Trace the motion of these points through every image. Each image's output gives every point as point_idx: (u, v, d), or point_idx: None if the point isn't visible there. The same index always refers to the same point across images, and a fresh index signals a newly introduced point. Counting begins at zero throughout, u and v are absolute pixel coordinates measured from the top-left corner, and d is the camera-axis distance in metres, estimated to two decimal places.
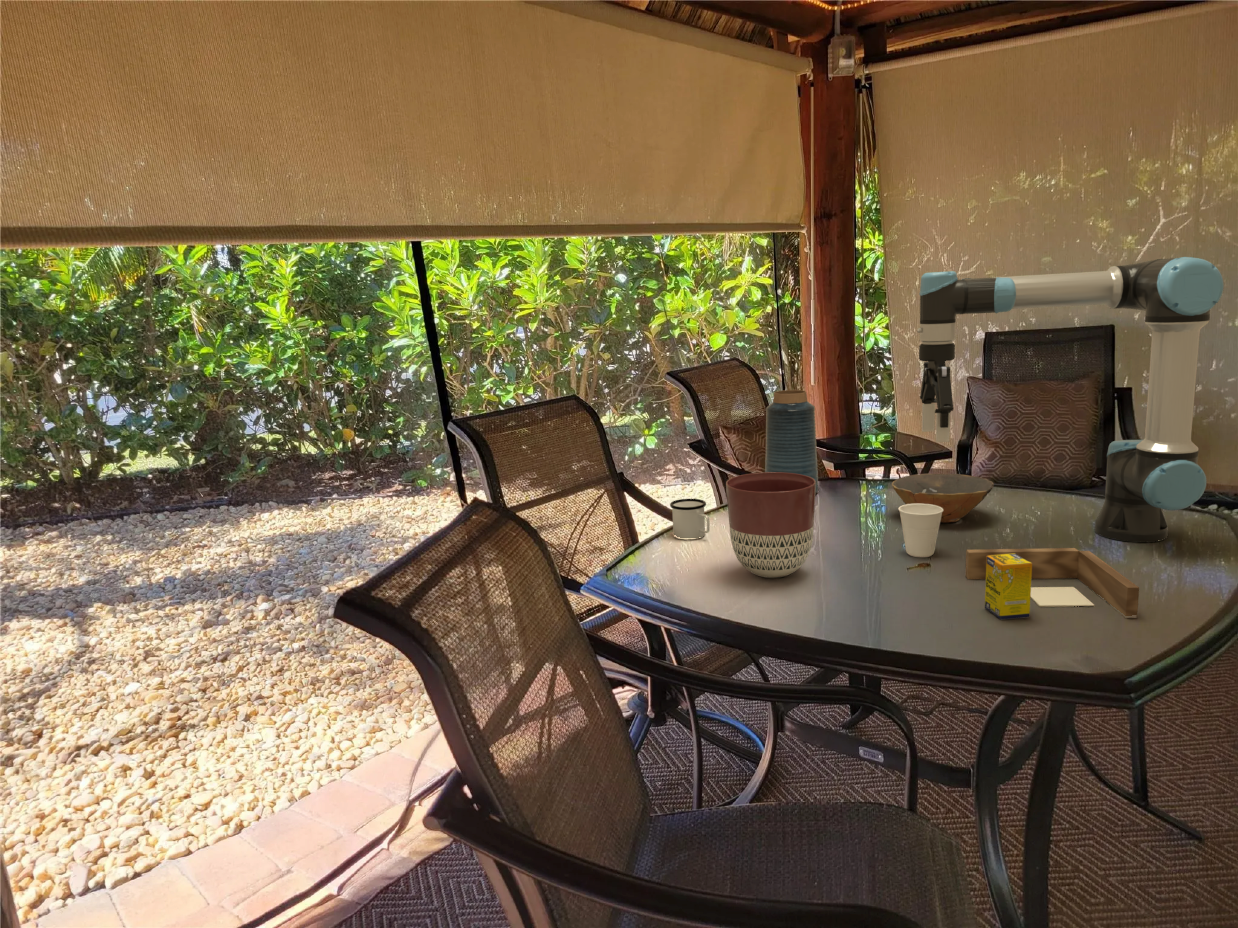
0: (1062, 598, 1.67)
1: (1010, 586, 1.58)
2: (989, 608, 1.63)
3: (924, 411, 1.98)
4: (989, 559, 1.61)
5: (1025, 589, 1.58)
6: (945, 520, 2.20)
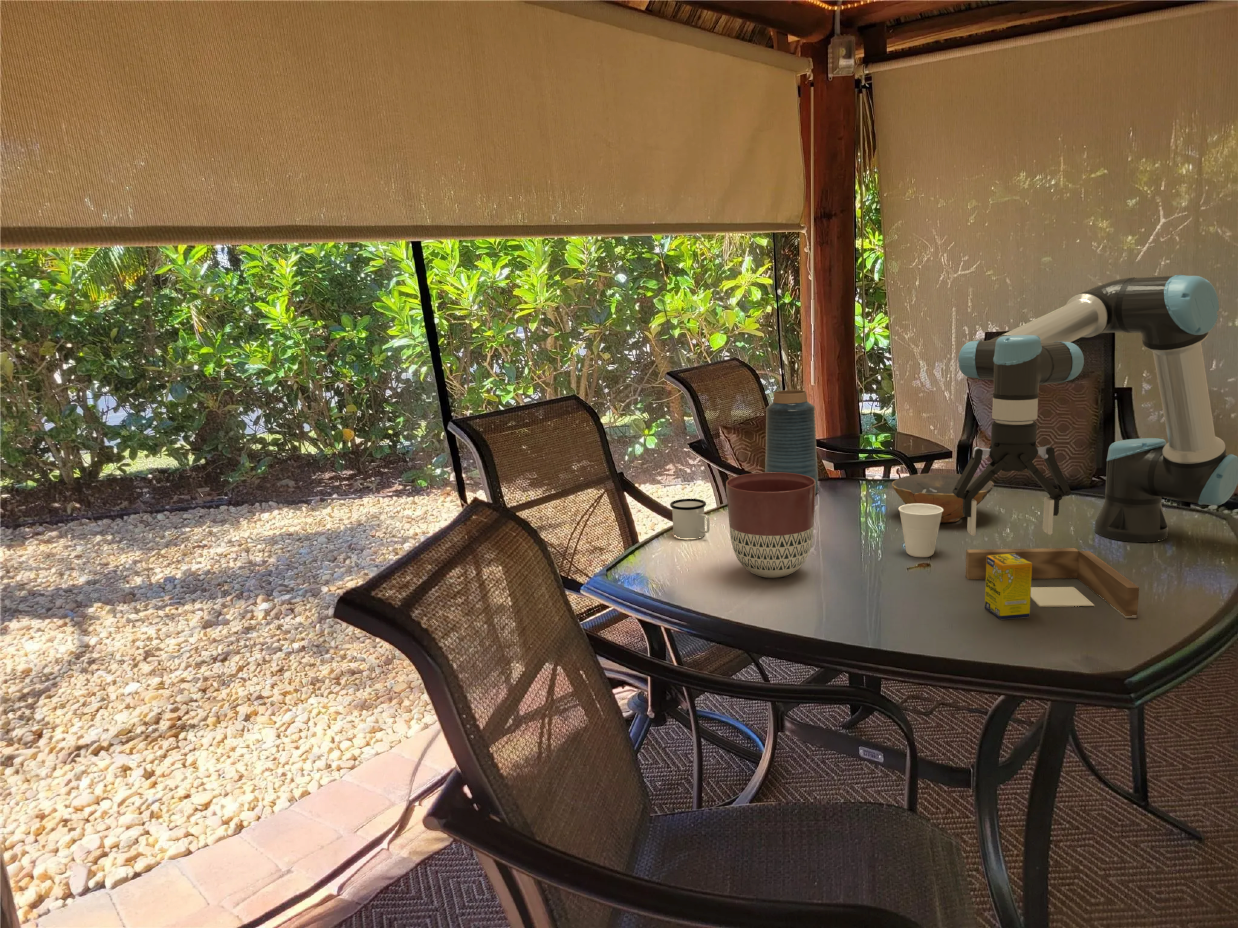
0: (1062, 598, 1.67)
1: (1010, 586, 1.58)
2: (989, 608, 1.63)
3: (1044, 506, 1.58)
4: (989, 559, 1.61)
5: (1025, 589, 1.58)
6: (945, 520, 2.20)
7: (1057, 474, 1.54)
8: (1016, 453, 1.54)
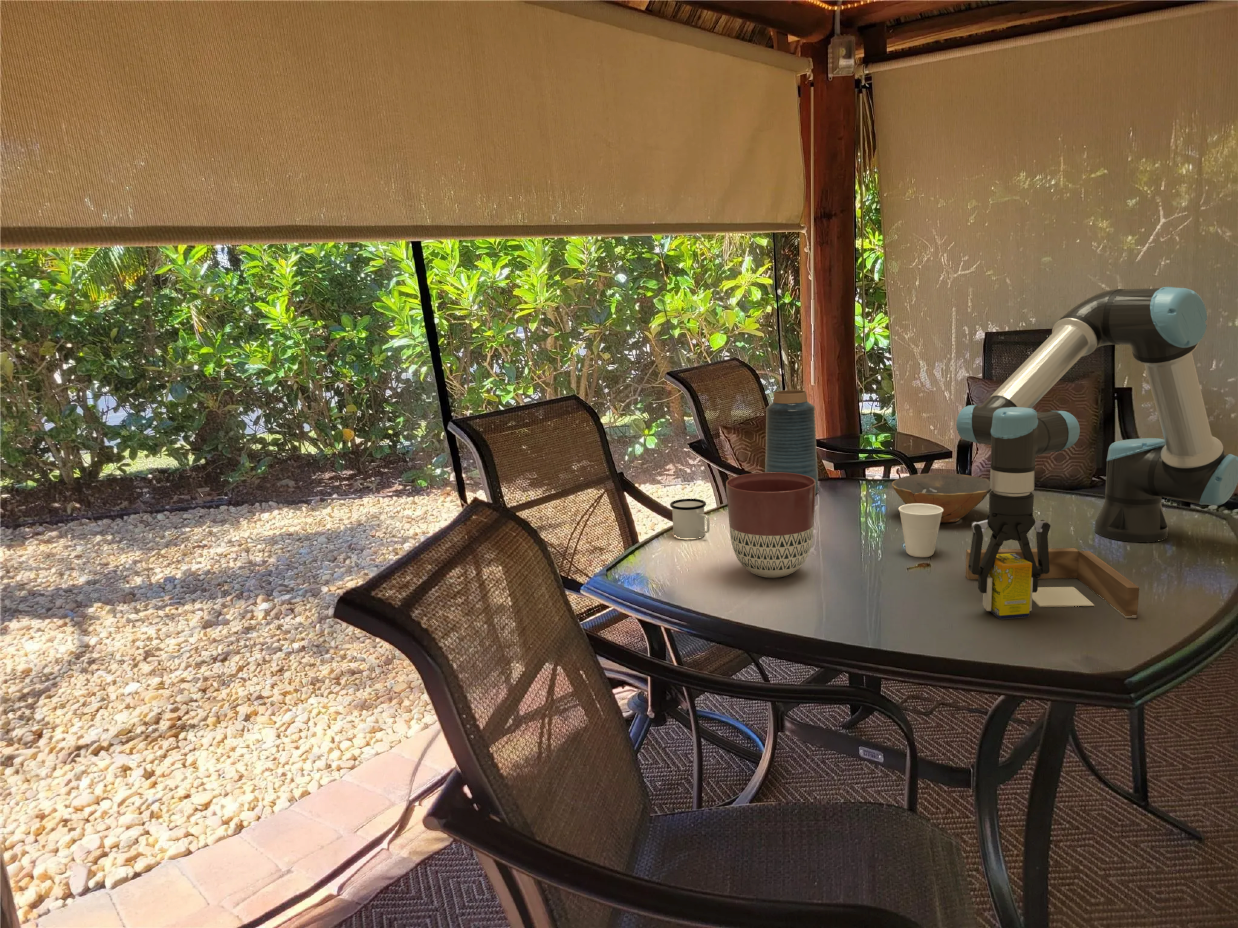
0: (1062, 598, 1.67)
1: (1010, 586, 1.58)
2: None
3: None
4: None
5: (1024, 589, 1.58)
6: (945, 520, 2.20)
7: (1043, 550, 1.57)
8: (1015, 518, 1.57)
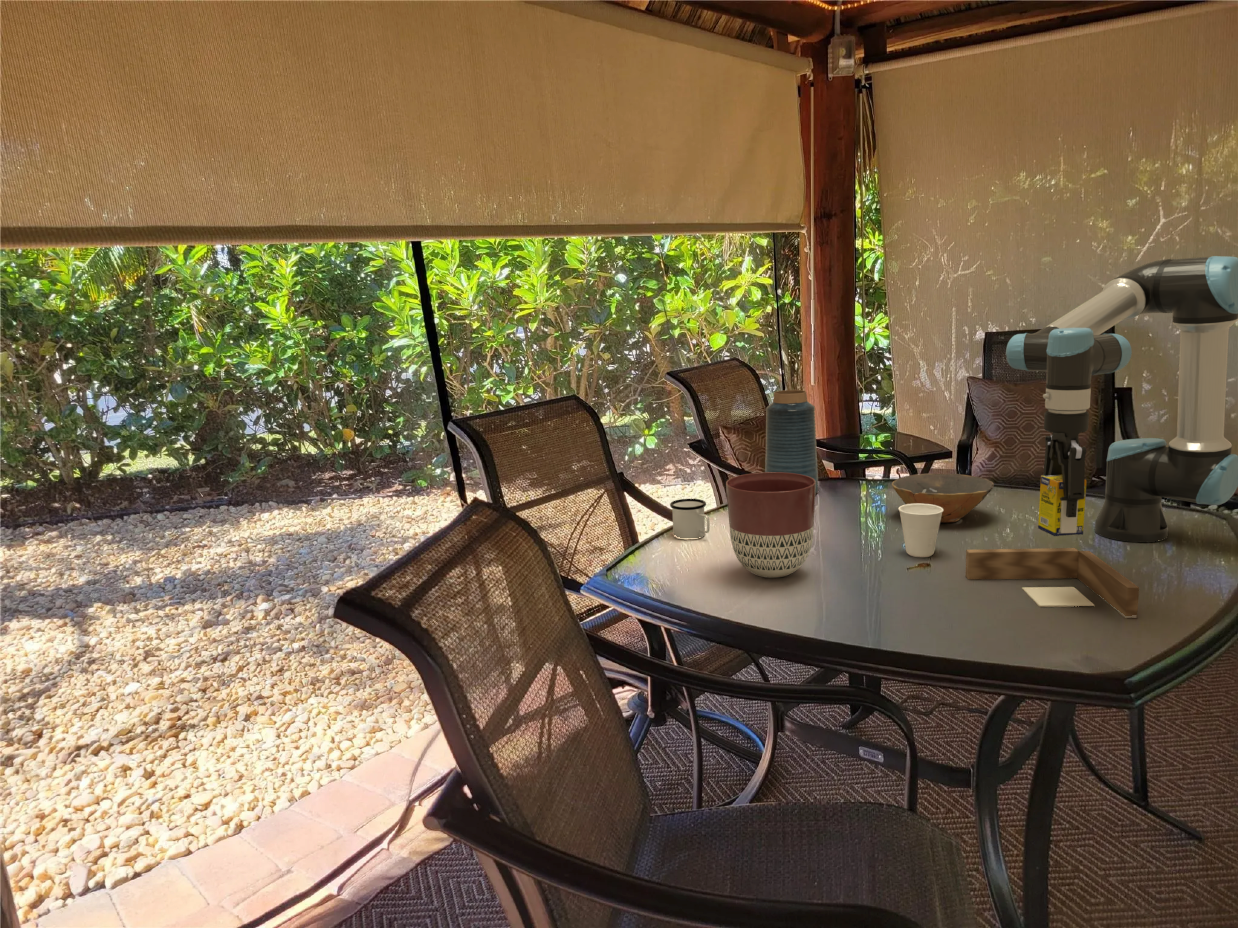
0: (1062, 598, 1.67)
1: None
2: None
3: None
4: None
5: None
6: (945, 520, 2.20)
7: None
8: None
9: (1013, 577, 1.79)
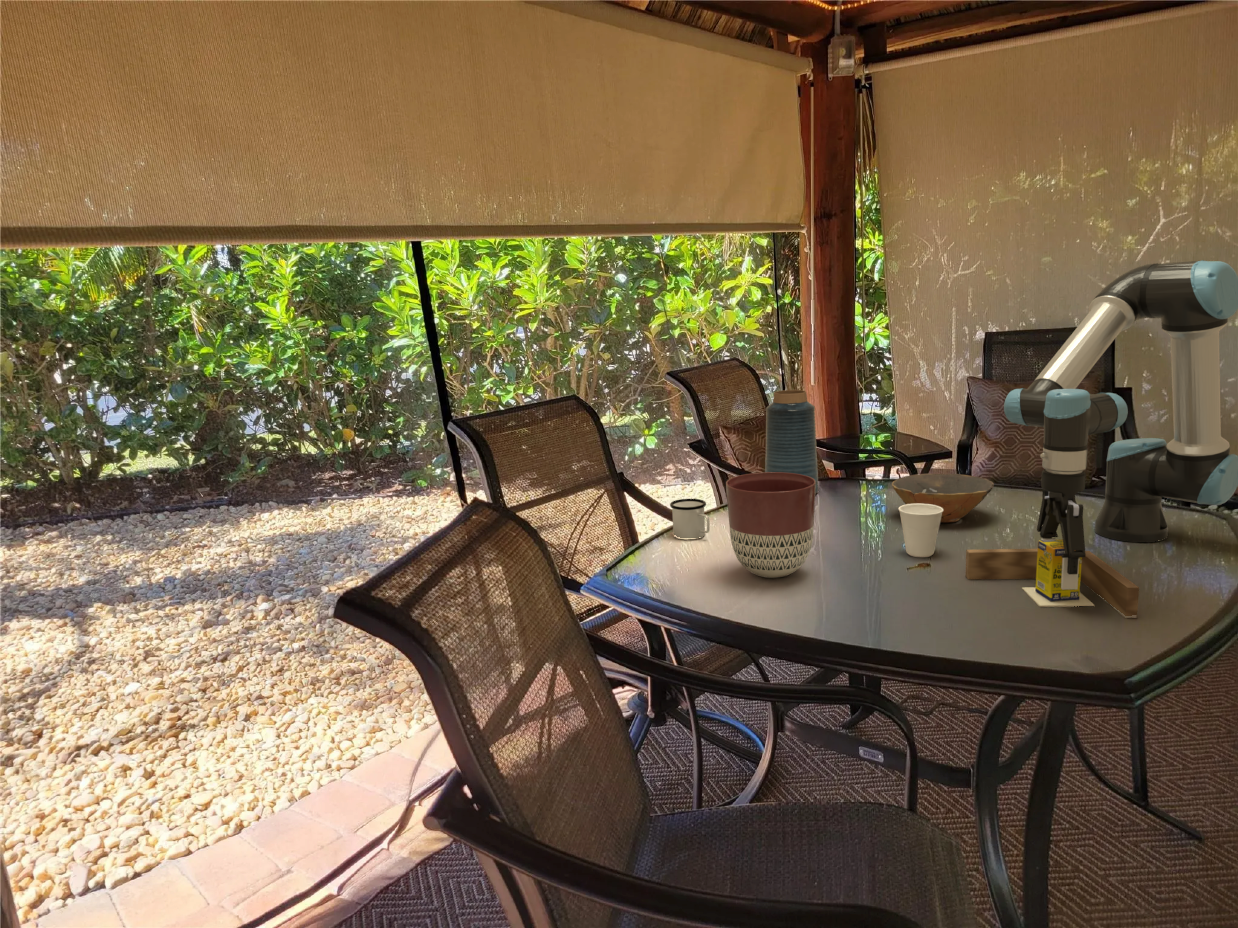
0: None
1: None
2: (1059, 597, 1.65)
3: None
4: (1060, 550, 1.63)
5: None
6: (945, 520, 2.20)
7: None
8: None
9: (1013, 577, 1.79)
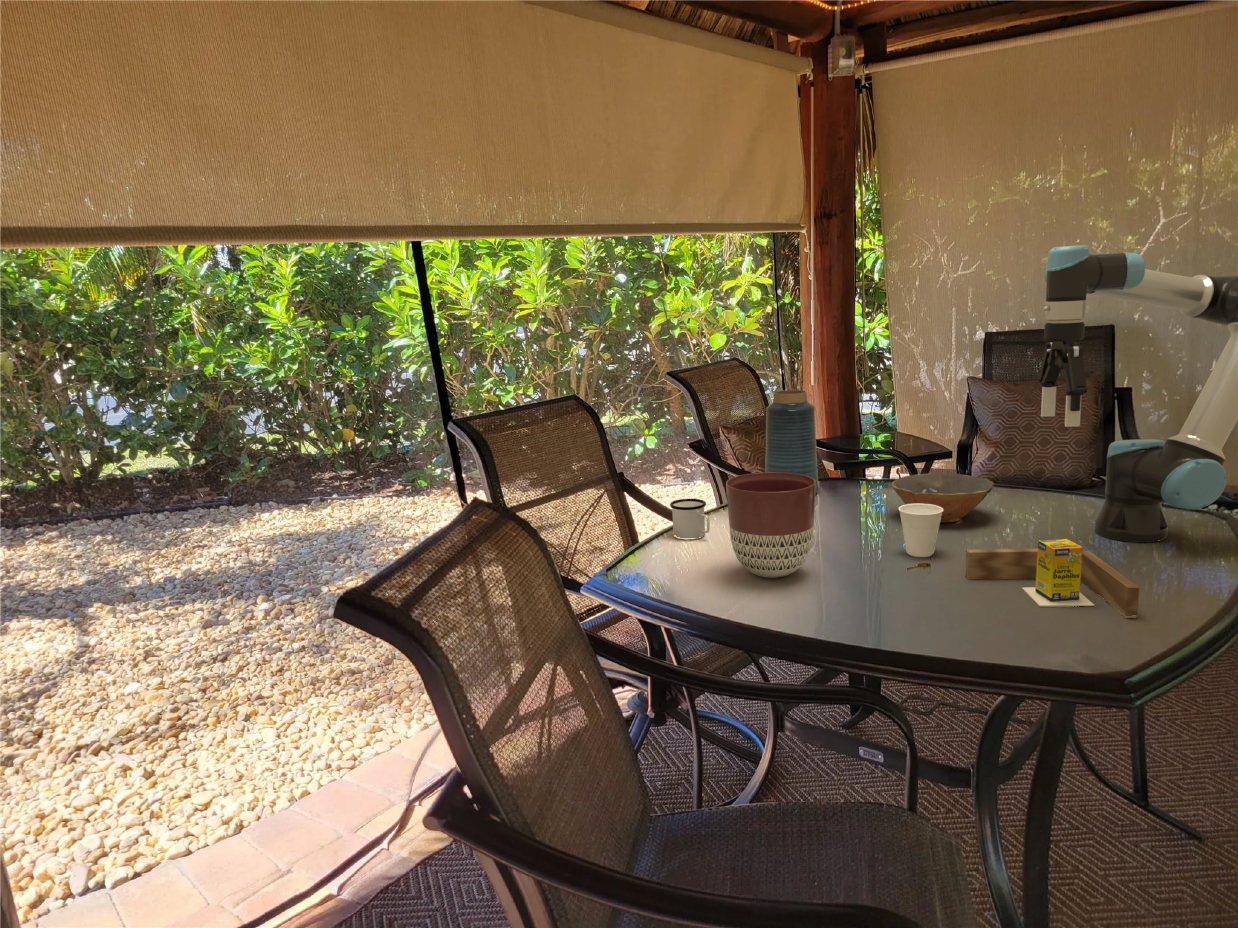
0: None
1: None
2: (1059, 597, 1.65)
3: (1044, 395, 1.87)
4: (1060, 550, 1.63)
5: None
6: (945, 520, 2.20)
7: None
8: None
9: (1013, 577, 1.79)
